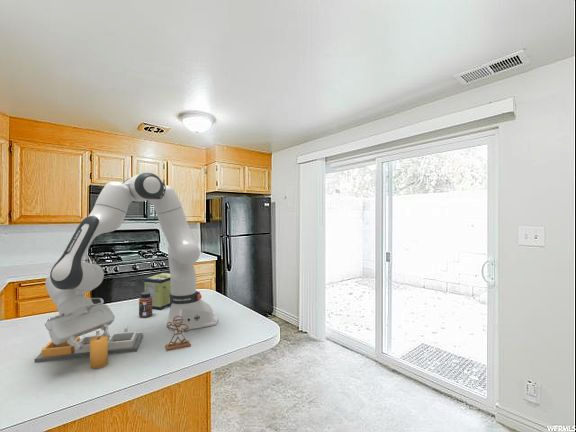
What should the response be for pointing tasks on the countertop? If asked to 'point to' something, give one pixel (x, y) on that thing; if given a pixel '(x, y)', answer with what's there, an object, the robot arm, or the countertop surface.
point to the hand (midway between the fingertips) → (94, 342)
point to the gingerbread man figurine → (179, 344)
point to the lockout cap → (98, 352)
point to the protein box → (159, 290)
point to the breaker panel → (67, 351)
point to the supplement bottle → (145, 305)
